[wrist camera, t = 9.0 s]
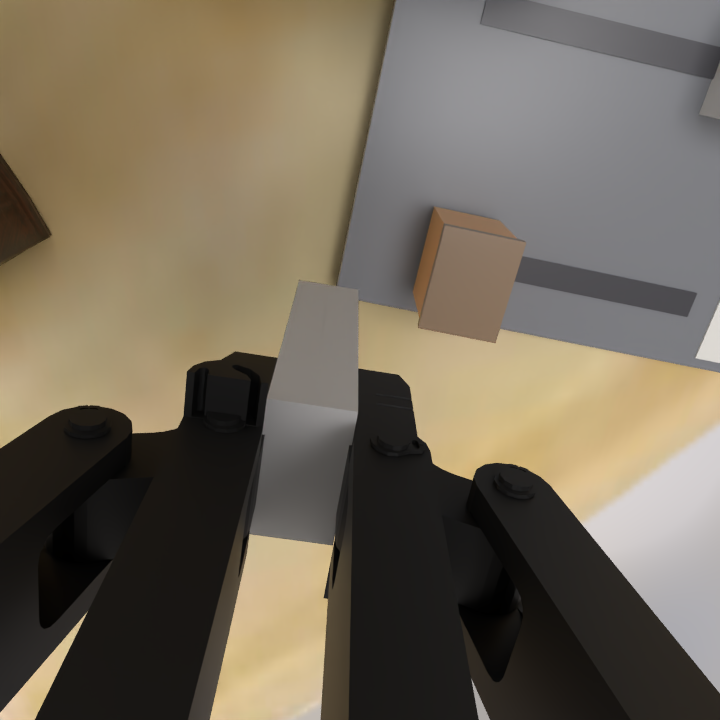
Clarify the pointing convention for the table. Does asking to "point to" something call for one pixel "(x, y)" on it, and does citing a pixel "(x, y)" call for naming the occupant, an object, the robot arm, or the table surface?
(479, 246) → the brown rectangular block
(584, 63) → the grey slider board
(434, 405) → the table surface
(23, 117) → the table surface
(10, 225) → the manual coffee grinder
